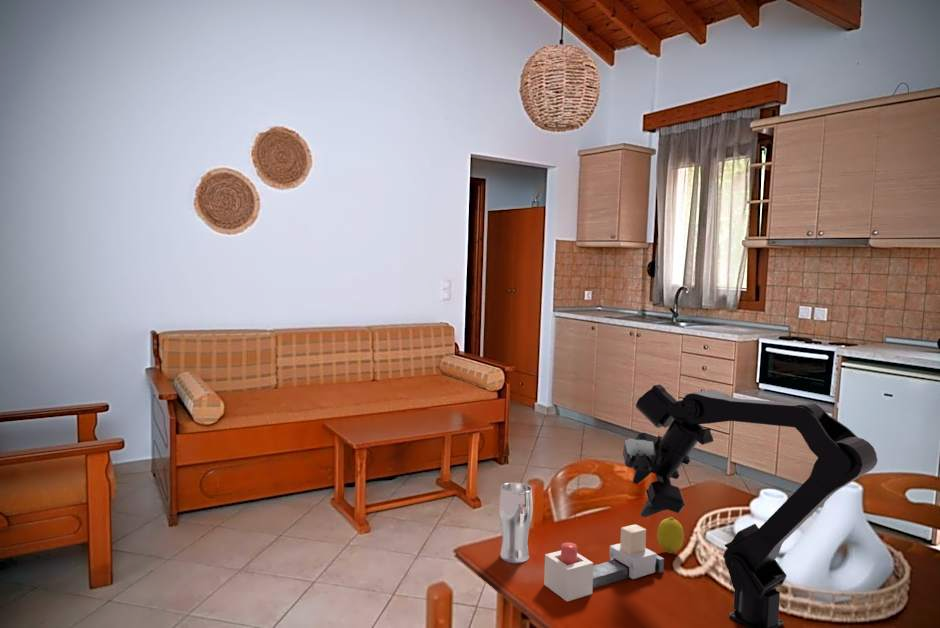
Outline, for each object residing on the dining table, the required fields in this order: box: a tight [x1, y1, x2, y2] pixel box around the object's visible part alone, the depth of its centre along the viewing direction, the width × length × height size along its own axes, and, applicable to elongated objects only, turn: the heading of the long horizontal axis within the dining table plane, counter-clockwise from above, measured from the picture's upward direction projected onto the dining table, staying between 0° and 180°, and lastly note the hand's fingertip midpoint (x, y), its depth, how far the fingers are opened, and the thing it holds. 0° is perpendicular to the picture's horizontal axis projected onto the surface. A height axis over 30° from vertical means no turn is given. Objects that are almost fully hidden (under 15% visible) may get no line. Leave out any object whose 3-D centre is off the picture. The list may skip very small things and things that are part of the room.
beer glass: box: [498, 481, 534, 564], centre depth 131 cm, size 7×7×15 cm
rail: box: [592, 554, 665, 589], centre depth 124 cm, size 7×17×3 cm, turn 120°
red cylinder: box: [560, 541, 578, 565], centre depth 118 cm, size 3×3×5 cm
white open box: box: [543, 550, 594, 602], centre depth 118 cm, size 7×6×6 cm
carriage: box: [608, 523, 657, 580], centre depth 126 cm, size 7×6×8 cm
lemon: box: [656, 516, 685, 554], centre depth 134 cm, size 6×6×8 cm
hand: (638, 499), depth 127 cm, fingers open, 9 cm apart
